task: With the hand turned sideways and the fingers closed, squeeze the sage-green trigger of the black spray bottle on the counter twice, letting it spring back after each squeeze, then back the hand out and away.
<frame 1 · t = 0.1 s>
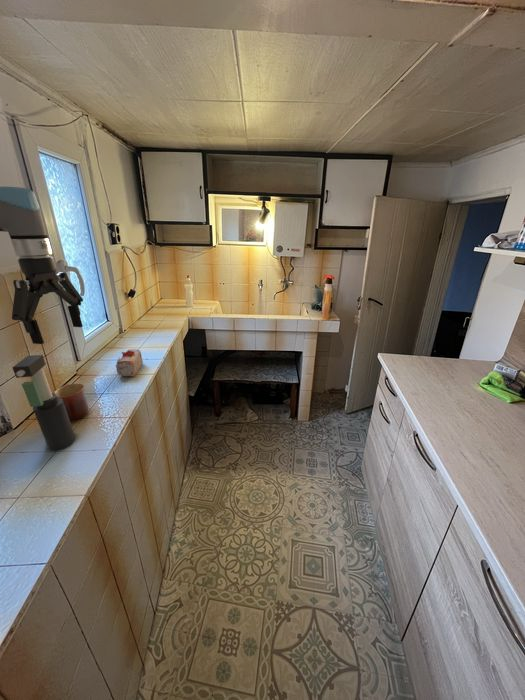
hand: (59, 334, 80), 32 cm above the counter, tool pointing down, fingers open, 13 cm apart
spray bottle: (62, 442, 86), on the counter
trigger: (33, 394, 74), point 20 cm above the counter, slide at -0.1 cm
food item: (131, 371, 128), on the counter
mug: (76, 413, 100), on the counter
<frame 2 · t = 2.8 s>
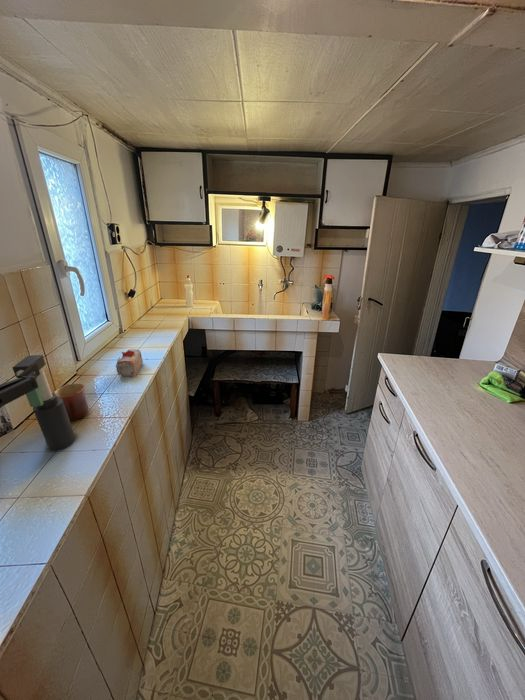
hand: (2, 372, 64), 30 cm above the counter, tool horizontal, fingers open, 13 cm apart
nothing on the counter moved.
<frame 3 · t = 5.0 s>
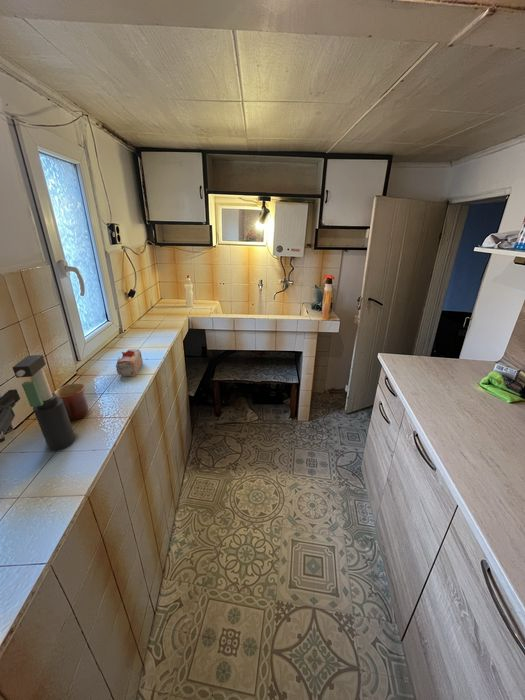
hand: (14, 394, 67), 24 cm above the counter, tool horizontal, fingers closed
nothing on the counter moved.
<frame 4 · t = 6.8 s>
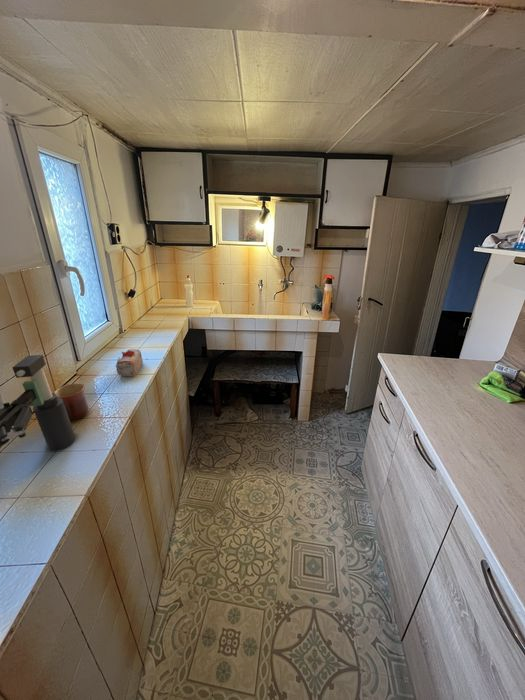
hand: (31, 394, 73), 20 cm above the counter, tool horizontal, fingers closed
trigger: (33, 393, 74), point 20 cm above the counter, slide at 0.2 cm, touching gripper
everything else where it was.
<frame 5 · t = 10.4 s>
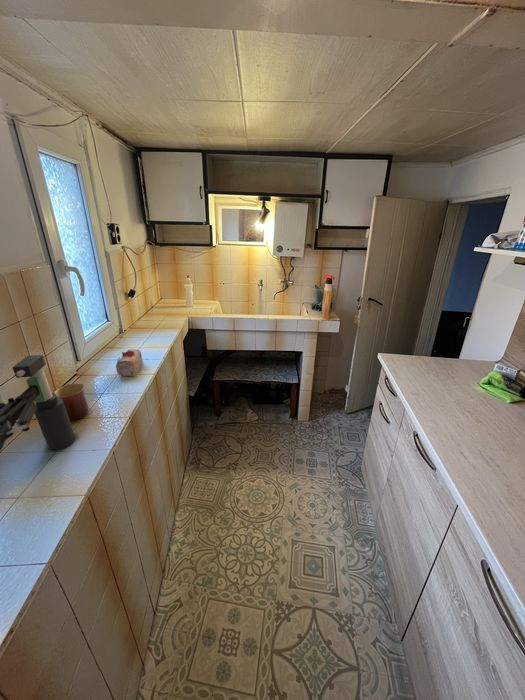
hand: (35, 390, 75), 20 cm above the counter, tool horizontal, fingers closed
trigger: (37, 390, 76), point 20 cm above the counter, slide at 2.0 cm, touching gripper, spray bottle
everything else where it was.
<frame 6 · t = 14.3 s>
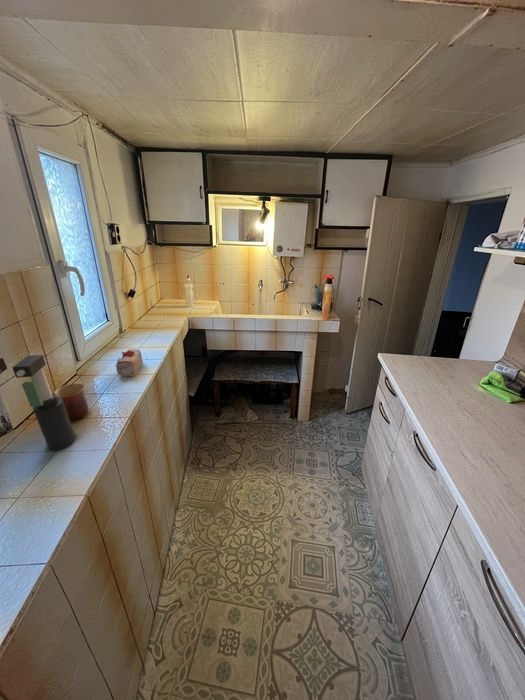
hand: (1, 363, 64), 32 cm above the counter, tool horizontal, fingers closed
trigger: (33, 394, 74), point 20 cm above the counter, slide at -0.1 cm
everything else where it was.
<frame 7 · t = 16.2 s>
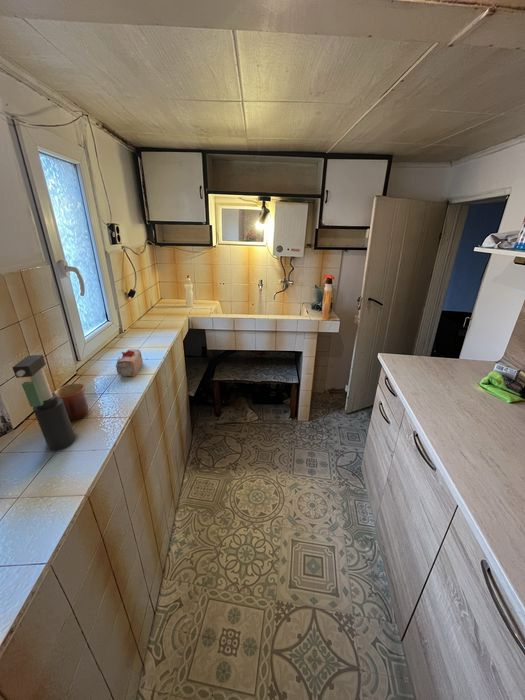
nothing on the counter moved.
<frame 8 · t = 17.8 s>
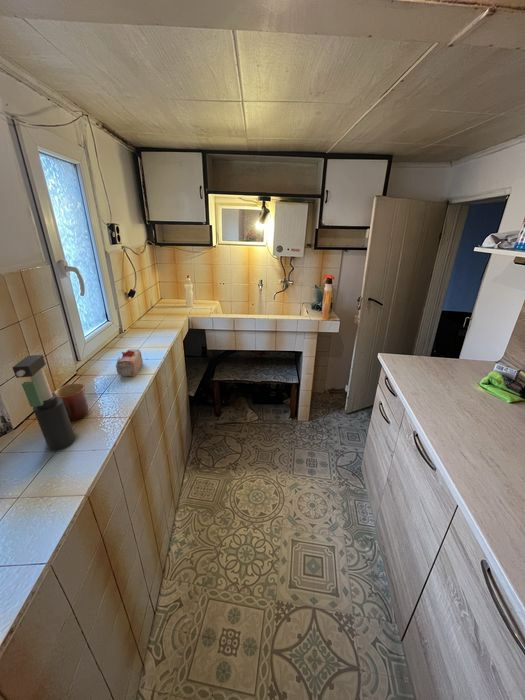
nothing on the counter moved.
at the end: trigger pulled out 2.0 cm at the most during the clip, back to where it started at the end; trigger slide at -0.1 cm; mug moved 0.2 cm from its start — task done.
